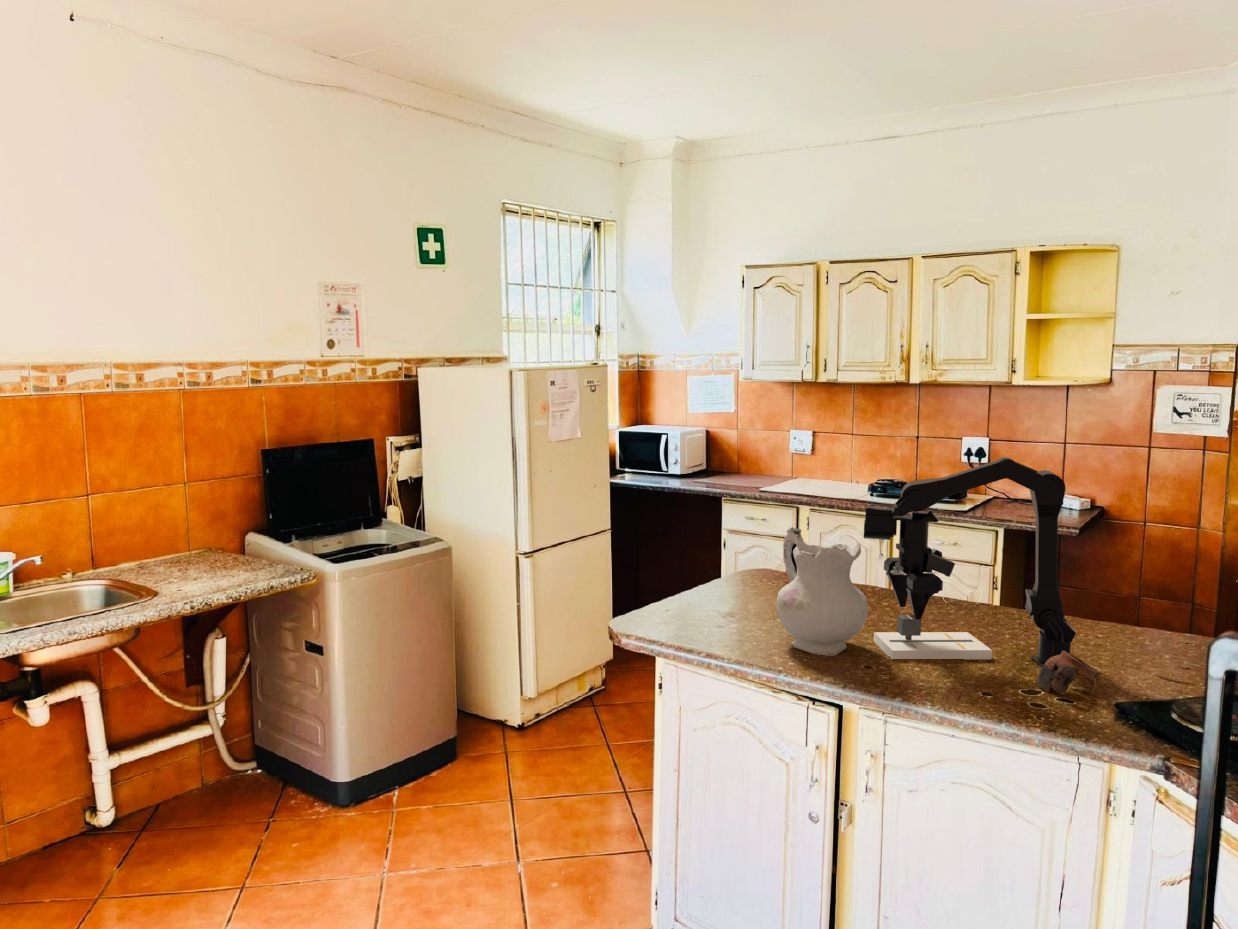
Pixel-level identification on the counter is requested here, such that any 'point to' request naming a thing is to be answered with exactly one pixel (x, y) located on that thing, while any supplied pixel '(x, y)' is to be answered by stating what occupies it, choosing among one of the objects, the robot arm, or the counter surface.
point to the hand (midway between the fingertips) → (910, 613)
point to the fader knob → (908, 626)
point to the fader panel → (932, 646)
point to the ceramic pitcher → (820, 596)
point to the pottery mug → (1064, 672)
